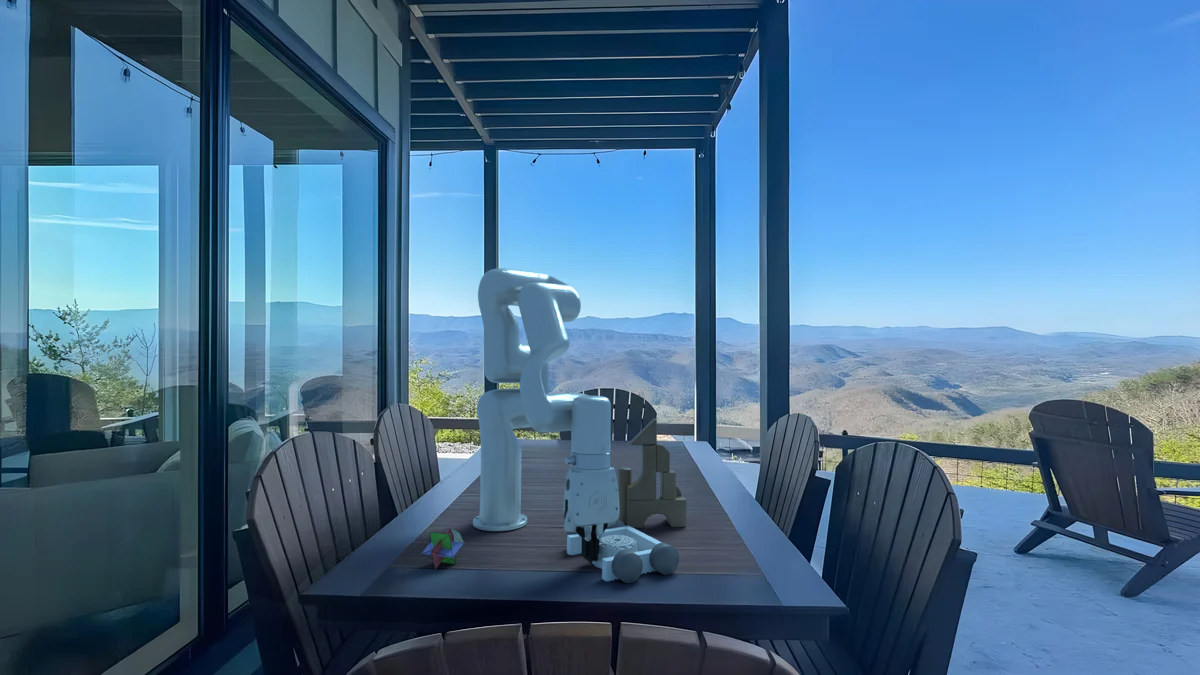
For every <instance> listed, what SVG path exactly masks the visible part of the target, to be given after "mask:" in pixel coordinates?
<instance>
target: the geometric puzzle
mask: <svg viewBox="0 0 1200 675" xmlns="http://www.w3.org/2000/svg"><path fill="white" fill-rule="evenodd" d="M437 531H439V529H438V530H437V529H436V532H435V531H432V532H431V531H429V532H428V533H429V534H428V535H429V536H430V537H429V539H430V540H429V544H428V545H426V547H424V549H422V551H421V553H420V555H422V556H424V558H425V559H426V561H428V559H427V558H429V559H431V560H432V561H433V562H432V563H433V566H432V565H431V566H432V567H434V570H437V569H438V570H439V569H441V566H443V565H445V564H450V565H457V560H456V558H455V557H456V555H457V553H458V551H459V550H461V549H462V548H461V547H463V546H464V544H465V541H464V540H463V537H462V535H461V533H460V532H459V531H457V530H455V529H453V528H452V527H448V528H445V531H444V532H445V533H444V532H440V533H439V532H437ZM426 540H428V537H427V538H426ZM429 555H430V556H431V557H430V556H429ZM441 563H443V564H441ZM440 564H441V565H440ZM439 565H440V566H439ZM446 567H447V565H446V566H445V568H446Z"/></svg>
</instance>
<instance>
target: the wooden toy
mask: <svg viewBox="0 0 1200 675" xmlns="http://www.w3.org/2000/svg"><path fill="white" fill-rule="evenodd" d="M657 434H658V420H657V419H656V418H652V420H650V421H649V422H648V424H646V425H645V426H644V428H642V429H641V430H640V431H639V432H638V433H637V434H636V435H635V436H634V437H633V438H632V439H631V440H630V441H629V444H630V445H631V446H640V474H639V476H638V478H637V480H635V481H632V474H633V473H632V472H633V471H632V470H633V469H632V468H631V467H628V466H622V467H621V466H620V467H619V468H618V478H617V483H618V492H619V518H618V520H620V521H622V522H623V523H624V524H625V525H626V526H630V527H632V528H634V529H643V528H644V527H645V523H646V521H647V520H648V519H649V517H651V516H653V515H656V514H657V515H663V516H664V517H665V520H666V522H667V523H668V525H669V526H670V527H671V528H686V527H687V499H686V498H685V497H684V496H683V494H682V492H681V490H680V488H679V487H678V486H677V482H676V481H677V473H676V471H674V469H670V467H671V466H670V465H671V464H670V462H671V459H670V458H671V455H670V454H671V453H670V451H669V450H668V449H667V448H666V446H665V445H663V443H661V442H658V435H657ZM657 473H659V476H660V477H659V487H660V488H659V496H657Z"/></svg>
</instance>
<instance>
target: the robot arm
mask: <svg viewBox="0 0 1200 675" xmlns="http://www.w3.org/2000/svg"><path fill="white" fill-rule="evenodd" d="M580 298H581V297H580V295H579V293H578V292H577V291H576V289H575V288H574V287H573V286H572V285H570V284H569V283H566V282H565V281H562V280H560V279H558V278H557V277H555V276H552V275H550V274H547V273H542V272H536V271H527V270H522V269H521V270H520V269H513V268H505V267H504V268H502V267H501V268H500V267H499V268H493V269H490V270H487V271H486V272H485V273H484V274H483V275H482V276H481V279H480V281H479V285H478V289H477V302H478V307H479V312H480V315H481V320H482V326H483V327H482V328H483V346H482V347H483V372H484V373H483V374H484V375H485V378H486V379H487V380H488V381H489V382H491V383H495V384H496V383H497V384H519V388H497V389H492V390H491V389H490V390H488V391H486V392H485V393H483V394H482V395H481V396H480V397H479V398H478V402H477V404H476V413H477V418H478V419H477V420H478V425H479V434H480V484H479V492H480V493H479V515H477V516H475V517H474V518H473V519H472V526H473V527H474V528H475V529H477V530H480V531H481V530H482V531H487V532H507V531H512V530H518V529H521V528H523V527H525V525H527V523H528V516H527V515H525V514H523V513H521V512H522V511H521V509H522V508H521V507H522V506H521V504H522V502H521V501H522V446H521V443H520V441H519V439H518V438H517V435H516V434H515V433H514V430H516V429H525V428H531V429H533V430H534V431H535V432H539V433H542V434H545V433H555V432H569V431H571V434H570V437H571V439H570V440H571V441H570V444H571V445H570V446H571V448H570V449H571V450H570V452H569V456H567V457H565V458H564V463H565V465H569V466H570V468H568V470H567V473H566V477H565V478H566V479H565V484H564V491H563V501H562V502H563V506H562V510H563V511H562V513H563V519H564V523H563V530H565V532H567V531H568V532H576V533H577V534H578V535H579V536H580V537H581V538H582V554H581V555H582V557H583V559H585V560H586V561H587V562H589V563H592V562H593V561H598V554H599V539H601V538H602V534H603V532H604V531H605V530H606V528H607V527H610V526H612V525H614V524H616V520H617V519H618V518H619V492H618V478H617V472H616V469H615V467H613V466H611V461H612V459H611V458H612V457H611V456H612V455H611V450H612V449H611V448H612V447H611V446H612V445H611V444H612V442H611V441H612V436H611V435H612V434H611V433H612V431H611V430H612V426H611V425H612V421H611V420H612V403H611V401H610V399H609V398H608V397H606V396H602V395H589V394H585V393H583V392H565V393H564V392H563V393H561V392H560V393H550V372H549V369H550V368H549V362H551V361H553V360H555V359H558V358H559V357H561V356H563V355H564V354H565V353H566V352H567V351H568V350H569V348H570V344H571V343H570V339H569V336H568V332H567V330H566V326H565V323H570V322H573V321H574V320H576V319H578V317H579V314H580V313H581V310H582V308H581V307H582V305H581V303H582V302H581V299H580ZM509 306H513V307H514V306H515V307H518V309H519V312H520V313H519V314H520V316H521V321H522V324H523V328H524V332H525V335H526V336H525V337H526V341H527V343H525V344H524V343H523V344H522V343H521V341H520V325H519V322H518V319H517V318H516V316H515V314H514V313H513V311H512V310H511V309H510V308H509Z"/></svg>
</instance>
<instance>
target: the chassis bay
mask: <svg viewBox="0 0 1200 675" xmlns="http://www.w3.org/2000/svg"><path fill="white" fill-rule="evenodd" d="M565 534H566V535H565V537H566V554H567V555H569V556H570V555H571V556H574V555H575V556H576V555H582V538H581V537H580V536H579V535H578V534H577V533H576V532H568V531H566V533H565ZM608 535H610V536H611V535H623V536H628V537H630V538H634V540H635V541H637V551H639V552H634V553H633V552H631V551H630V550H621V551H619V552H618V553H617V554H616V555H615V556H613V557H608V558H603V559H602V569H601V579H602V580H603V581H605V582H611V581H616V580H621V581H622V582H623V583H626V584H632V583H635V582H637V580H638V579H639V578H640V577H641V575H643V573H644V574H648V573H647V572H649V573H652V571H653V572H658V573H660V574H661V575H664V576H668V575H671V574H672V573H675V571H676V569H677V568H678V567H679V563H680V553H679V551H678V549H677V548H675V547H673V546H672V545H670V544H668V543H666V542H661V541H660V540H658V539H656V538H654V537H652V536H650V535H648V534H646V533H644V532H642V531H640V530H638V529H637V528H632V527H630V526H627V525H626V523H623V522H622V521H620V520H618V519H617V520H616V524H614V525H612V526H610V527H607V528H606V530H605V531H604V532H603V534H602V537H607V536H608ZM615 579H616V580H615ZM631 582H632V583H631Z"/></svg>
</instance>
